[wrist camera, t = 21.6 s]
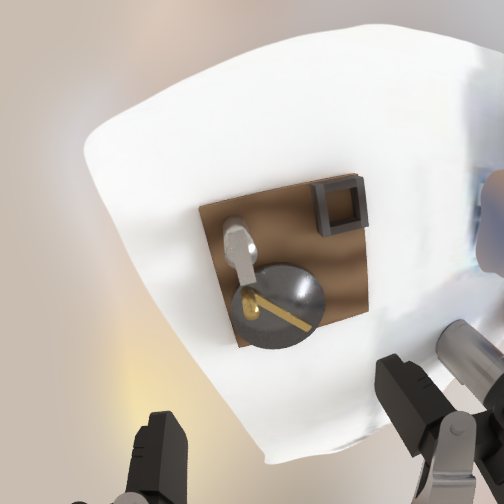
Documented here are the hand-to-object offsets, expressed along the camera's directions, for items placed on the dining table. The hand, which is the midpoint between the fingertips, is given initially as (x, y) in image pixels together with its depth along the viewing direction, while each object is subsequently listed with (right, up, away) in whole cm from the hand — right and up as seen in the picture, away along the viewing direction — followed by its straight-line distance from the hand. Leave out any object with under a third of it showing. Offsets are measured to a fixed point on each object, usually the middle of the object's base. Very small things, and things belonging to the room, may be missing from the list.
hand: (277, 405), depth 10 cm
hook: (-3, +9, +25) cm, 27 cm away
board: (+5, +4, +29) cm, 29 cm away
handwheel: (+2, -1, +28) cm, 28 cm away
